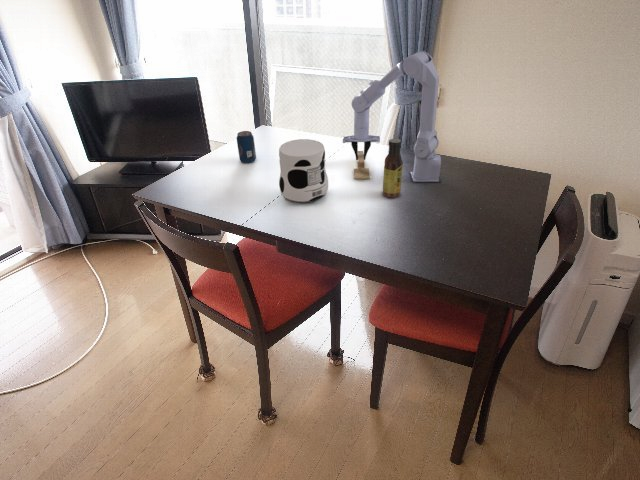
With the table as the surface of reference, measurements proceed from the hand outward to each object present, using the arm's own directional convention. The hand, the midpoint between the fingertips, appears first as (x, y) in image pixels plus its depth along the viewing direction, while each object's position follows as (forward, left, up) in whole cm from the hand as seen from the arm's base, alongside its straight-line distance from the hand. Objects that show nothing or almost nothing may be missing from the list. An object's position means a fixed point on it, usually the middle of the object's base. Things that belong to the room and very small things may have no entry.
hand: (360, 159), depth 169 cm
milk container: (+21, +26, -2) cm, 33 cm away
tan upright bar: (0, +5, -1) cm, 5 cm away
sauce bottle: (-10, +26, -2) cm, 28 cm away
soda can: (+47, -4, -2) cm, 47 cm away
